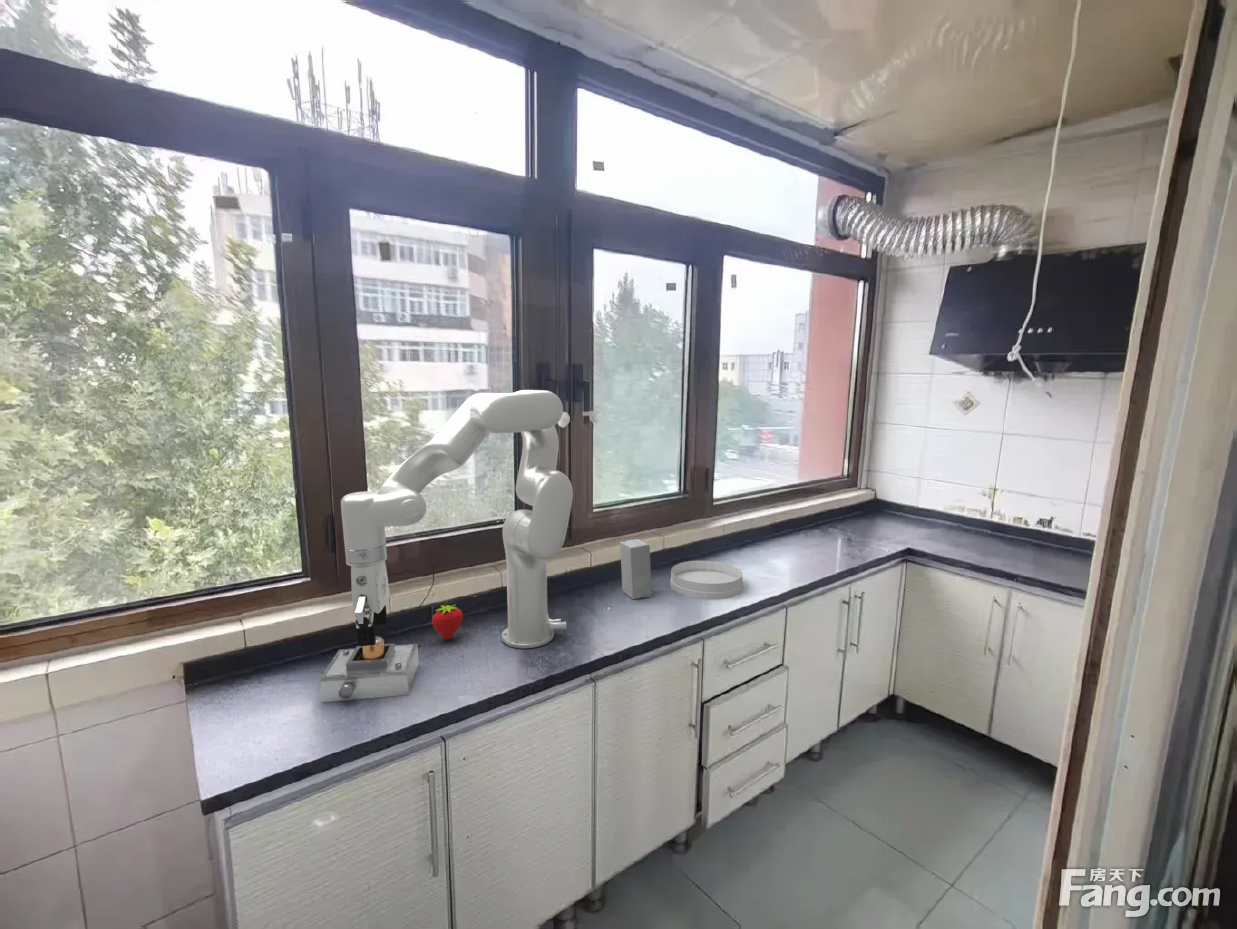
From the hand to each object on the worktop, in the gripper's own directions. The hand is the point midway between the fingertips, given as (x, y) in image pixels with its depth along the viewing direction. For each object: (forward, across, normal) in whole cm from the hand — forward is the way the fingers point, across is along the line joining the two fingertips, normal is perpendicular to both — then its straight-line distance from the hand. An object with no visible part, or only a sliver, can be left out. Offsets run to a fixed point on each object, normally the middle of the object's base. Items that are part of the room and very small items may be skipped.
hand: (373, 634), depth 115 cm
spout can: (+10, 0, +1) cm, 10 cm away
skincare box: (+13, +40, -63) cm, 76 cm away
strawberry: (+11, +18, -12) cm, 24 cm away
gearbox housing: (+10, 0, +1) cm, 10 cm away
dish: (+14, +43, -86) cm, 97 cm away
